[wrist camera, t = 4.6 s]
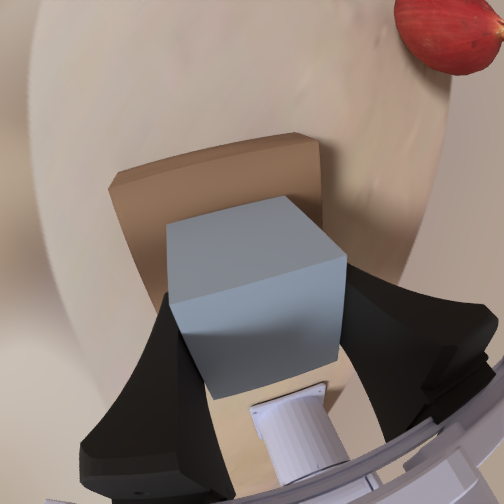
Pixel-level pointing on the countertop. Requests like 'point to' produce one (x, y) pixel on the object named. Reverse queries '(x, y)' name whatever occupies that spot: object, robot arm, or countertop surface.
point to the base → (210, 192)
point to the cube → (255, 294)
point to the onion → (450, 33)
